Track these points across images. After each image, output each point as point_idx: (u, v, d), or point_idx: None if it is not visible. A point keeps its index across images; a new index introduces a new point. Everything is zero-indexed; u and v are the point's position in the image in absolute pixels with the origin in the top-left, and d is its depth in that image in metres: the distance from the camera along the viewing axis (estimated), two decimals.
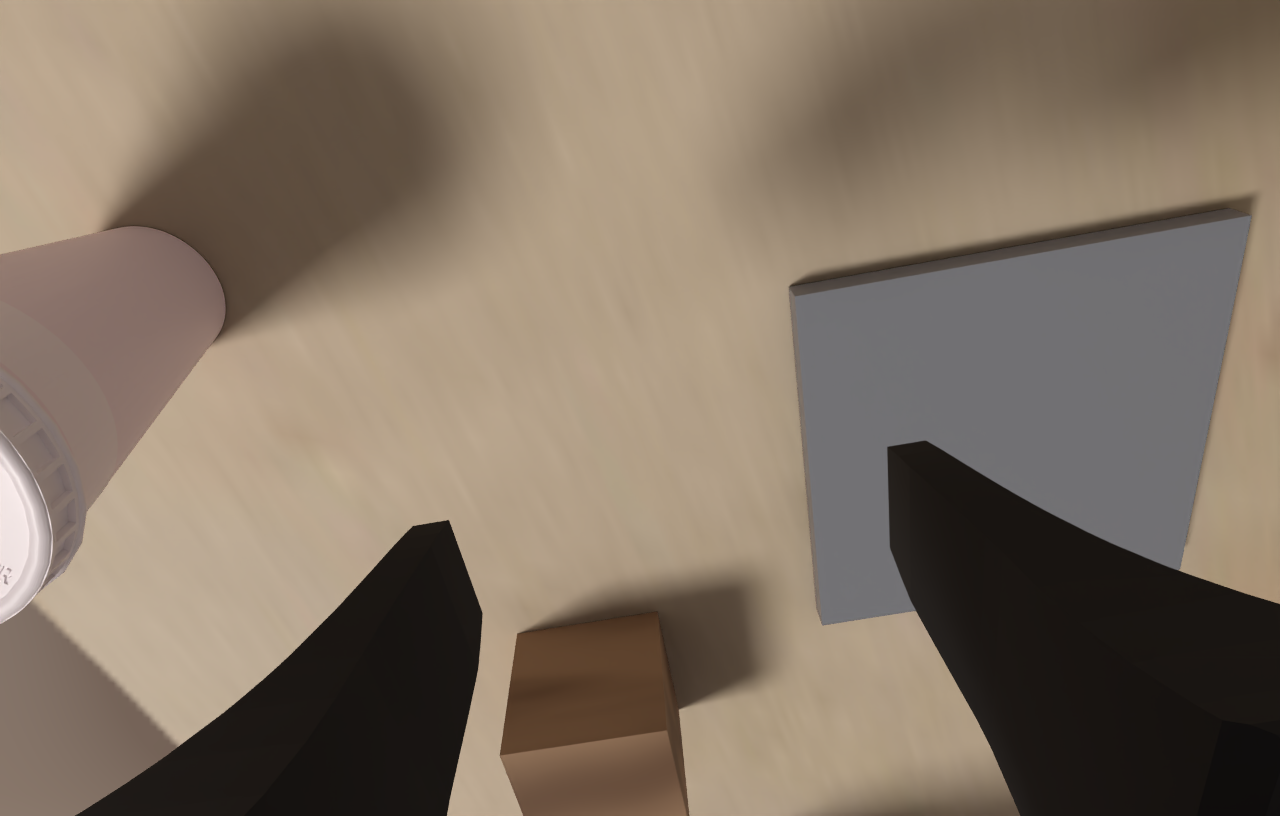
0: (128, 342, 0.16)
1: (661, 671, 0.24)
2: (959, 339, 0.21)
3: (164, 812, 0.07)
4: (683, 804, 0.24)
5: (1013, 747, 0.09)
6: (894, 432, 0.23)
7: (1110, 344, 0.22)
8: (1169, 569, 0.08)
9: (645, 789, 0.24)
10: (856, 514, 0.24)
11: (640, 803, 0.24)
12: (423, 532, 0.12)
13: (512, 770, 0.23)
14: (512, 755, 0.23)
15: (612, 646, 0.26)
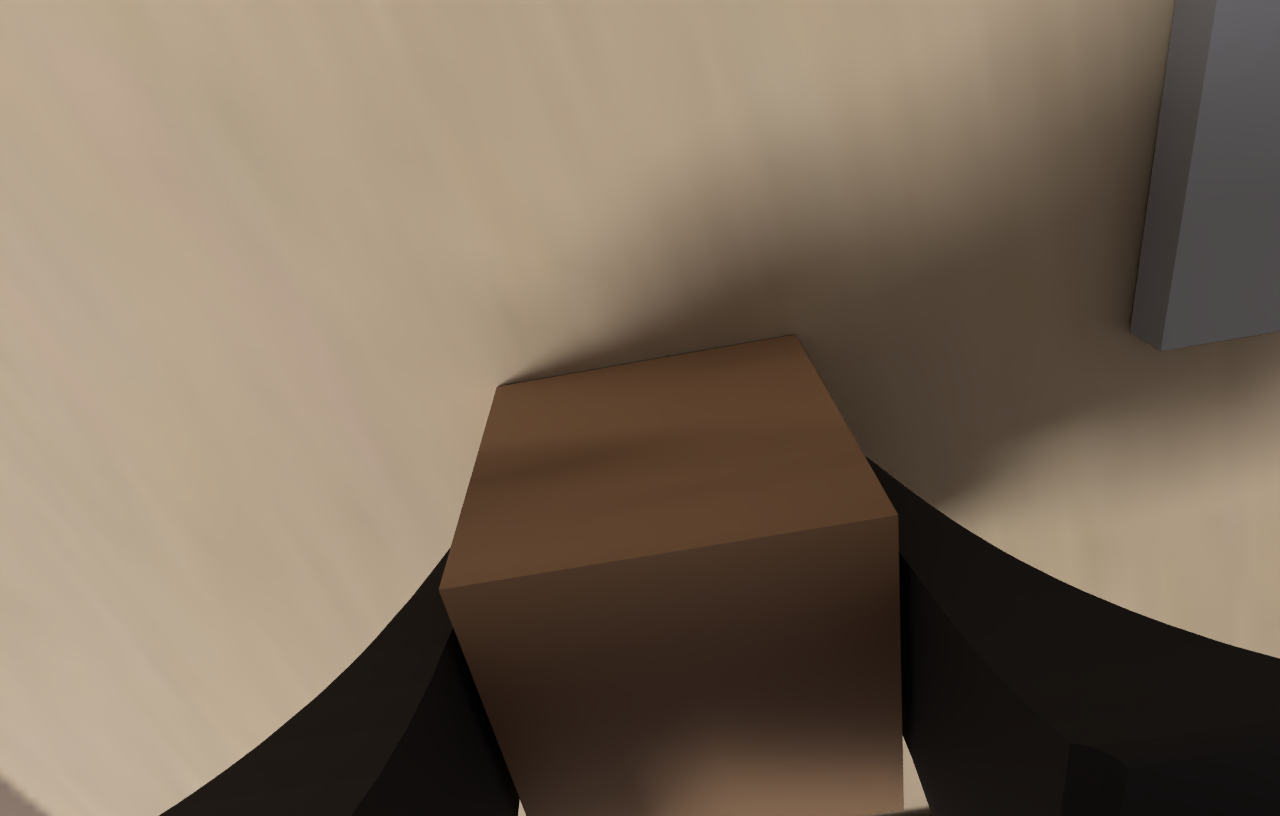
0: None
1: (839, 415, 0.10)
2: None
3: (278, 793, 0.07)
4: (899, 734, 0.10)
5: (928, 760, 0.09)
6: None
7: None
8: (1067, 585, 0.08)
9: (815, 693, 0.09)
10: None
11: (794, 730, 0.10)
12: None
13: (474, 635, 0.09)
14: (473, 591, 0.08)
15: (708, 388, 0.11)
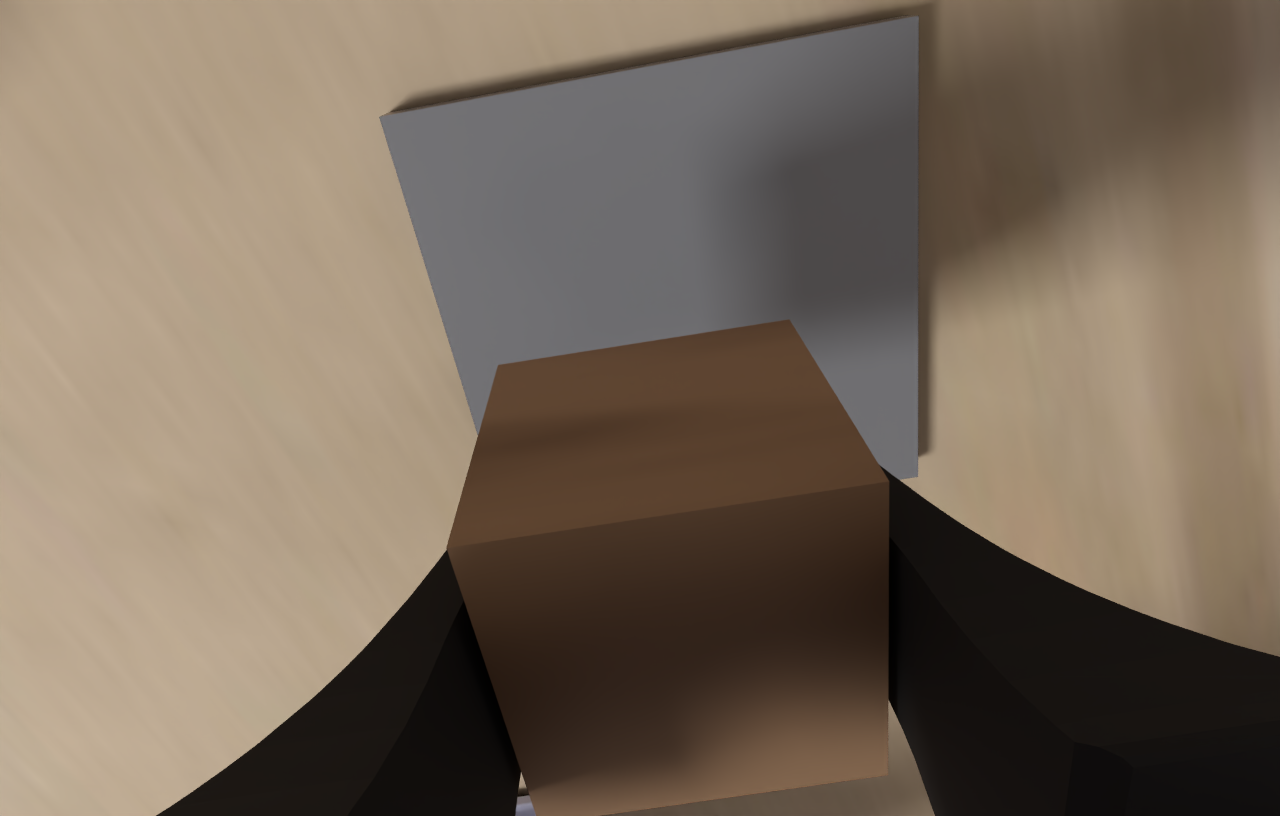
0: None
1: (832, 393, 0.10)
2: (593, 177, 0.18)
3: (274, 794, 0.07)
4: (885, 699, 0.10)
5: (930, 759, 0.09)
6: (542, 298, 0.19)
7: (779, 186, 0.18)
8: (1070, 585, 0.08)
9: (805, 657, 0.10)
10: None
11: (786, 694, 0.10)
12: None
13: (479, 594, 0.09)
14: (479, 550, 0.09)
15: (705, 367, 0.12)
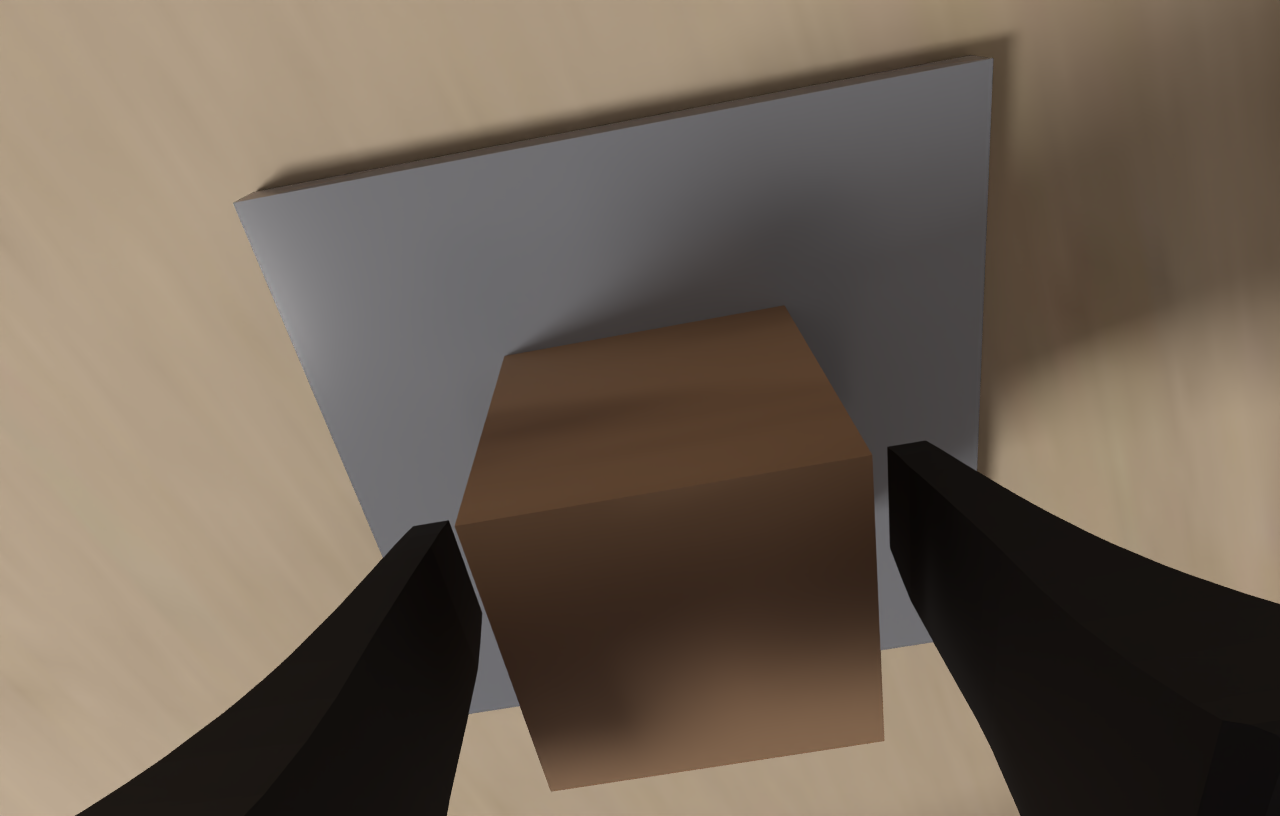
0: None
1: (822, 374, 0.11)
2: (537, 279, 0.13)
3: (165, 811, 0.07)
4: (878, 667, 0.11)
5: (1013, 747, 0.09)
6: (474, 432, 0.14)
7: (793, 288, 0.13)
8: (1168, 569, 0.08)
9: (799, 626, 0.10)
10: None
11: (781, 662, 0.10)
12: (423, 532, 0.12)
13: (486, 570, 0.09)
14: (486, 528, 0.09)
15: (702, 353, 0.12)
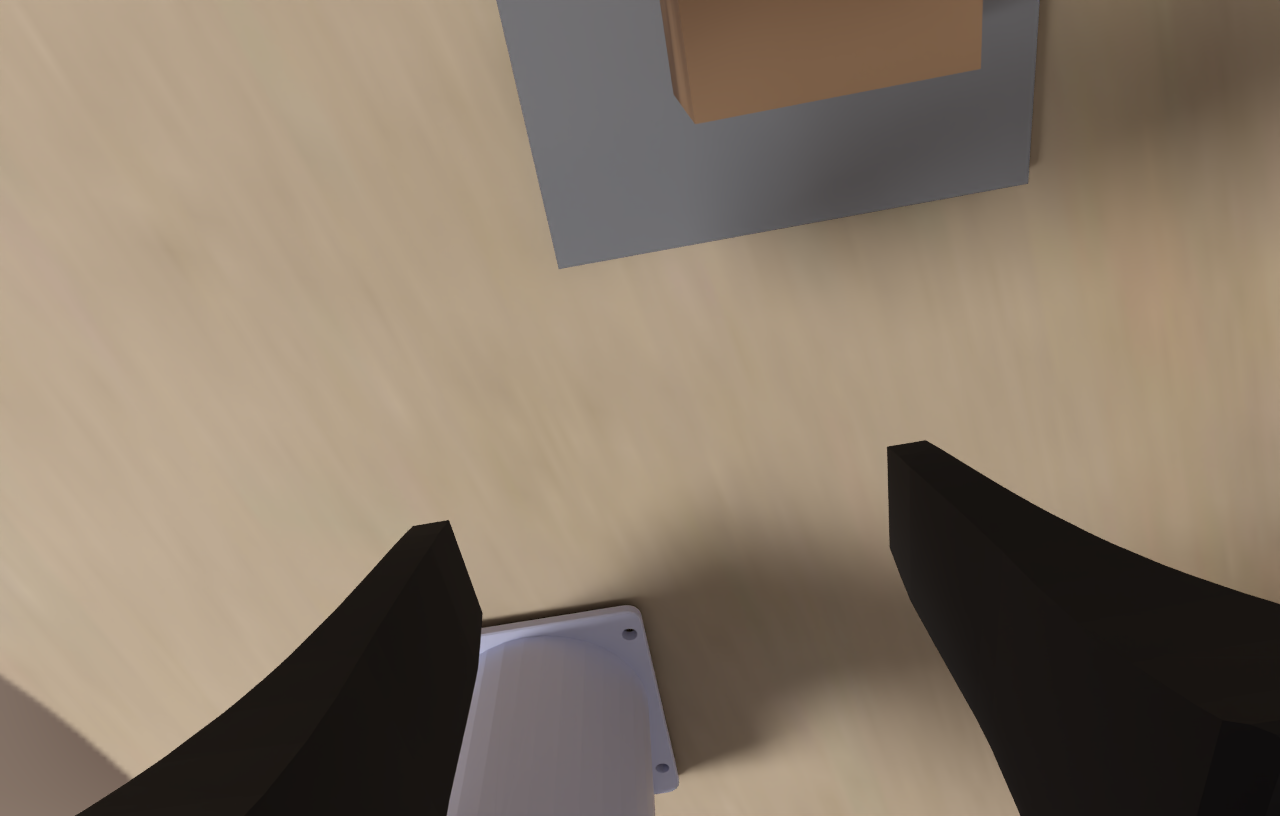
0: None
1: None
2: None
3: (164, 812, 0.07)
4: None
5: (1013, 747, 0.09)
6: None
7: None
8: (1169, 569, 0.08)
9: None
10: (573, 73, 0.18)
11: None
12: (423, 532, 0.12)
13: None
14: None
15: None
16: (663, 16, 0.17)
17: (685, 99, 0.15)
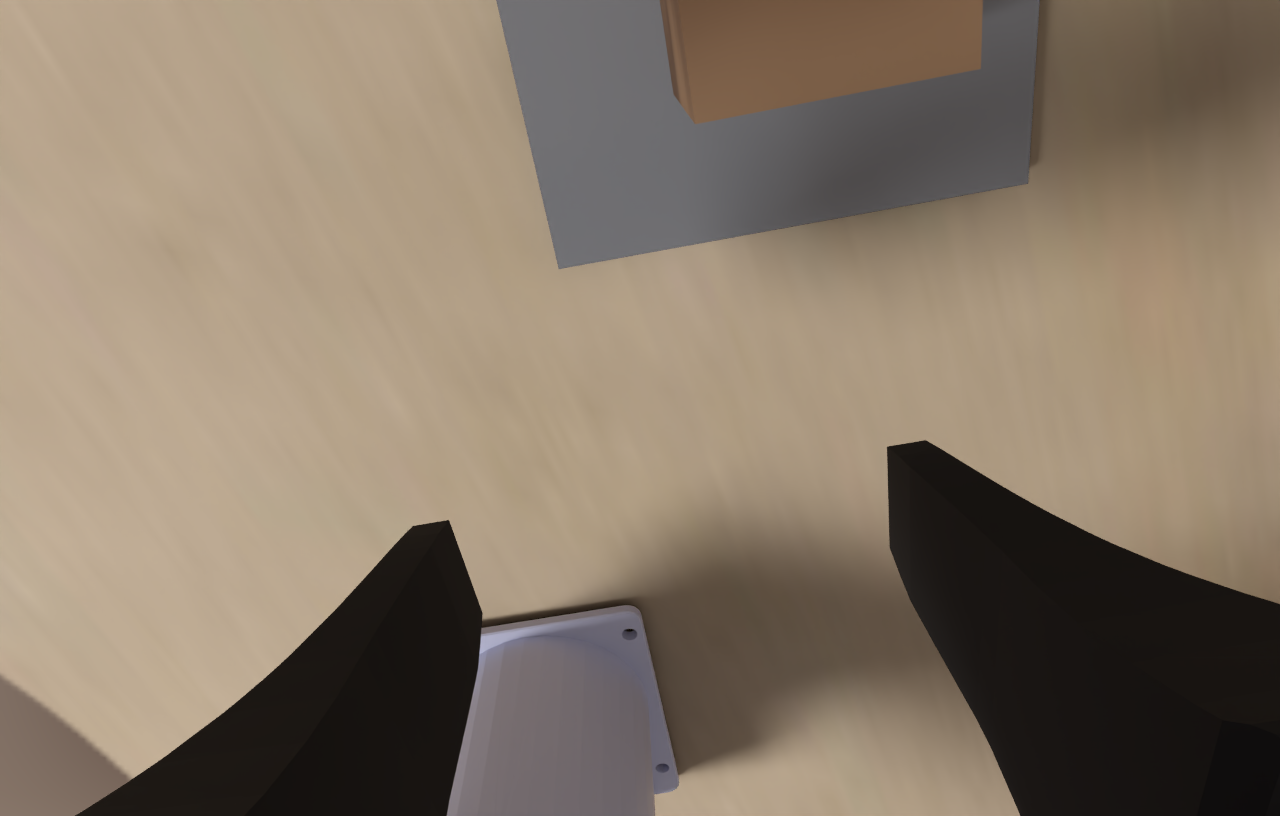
0: None
1: None
2: None
3: (165, 811, 0.07)
4: None
5: (1013, 747, 0.09)
6: None
7: None
8: (1169, 569, 0.08)
9: None
10: (573, 73, 0.18)
11: None
12: (423, 532, 0.12)
13: None
14: None
15: None
16: (663, 16, 0.17)
17: (685, 99, 0.15)
